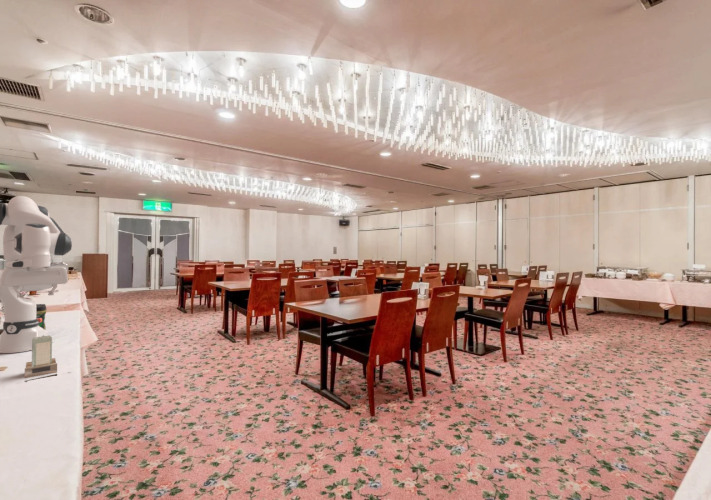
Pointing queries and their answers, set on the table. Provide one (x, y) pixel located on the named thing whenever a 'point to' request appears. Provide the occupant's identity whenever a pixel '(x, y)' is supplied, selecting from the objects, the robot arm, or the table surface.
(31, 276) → the robot arm
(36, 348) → the tea tin
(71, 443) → the table surface
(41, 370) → the shelf board
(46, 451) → the table surface
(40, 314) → the coffee jar
